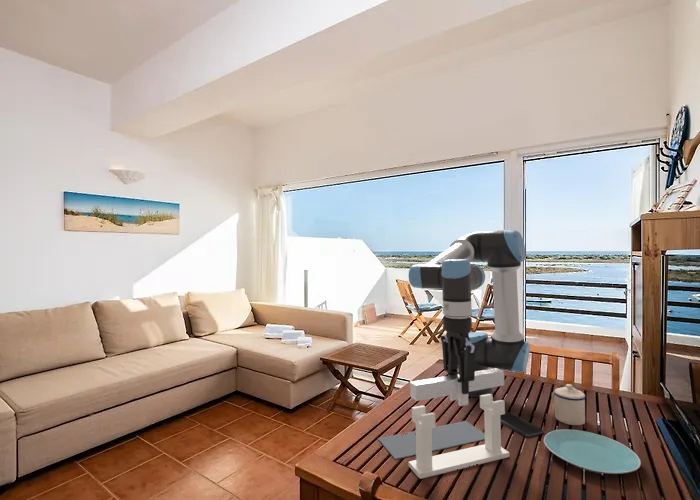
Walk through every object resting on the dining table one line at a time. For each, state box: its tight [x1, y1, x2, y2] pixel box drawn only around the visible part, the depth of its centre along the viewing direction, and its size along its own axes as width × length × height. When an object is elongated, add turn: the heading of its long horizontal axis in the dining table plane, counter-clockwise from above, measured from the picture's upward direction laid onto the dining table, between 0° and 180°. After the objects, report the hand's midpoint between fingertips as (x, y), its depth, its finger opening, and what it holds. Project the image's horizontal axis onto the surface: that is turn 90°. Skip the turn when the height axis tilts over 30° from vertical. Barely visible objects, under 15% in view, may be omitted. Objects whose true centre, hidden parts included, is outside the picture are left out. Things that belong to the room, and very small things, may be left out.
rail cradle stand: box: [408, 394, 510, 480], centre depth 101 cm, size 6×28×16 cm, turn 109°
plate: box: [543, 428, 642, 475], centre depth 102 cm, size 22×22×3 cm
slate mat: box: [377, 420, 485, 461], centre depth 113 cm, size 12×32×1 cm, turn 109°
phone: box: [500, 411, 545, 438], centre depth 121 cm, size 8×1×15 cm
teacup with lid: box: [551, 383, 587, 426], centre depth 125 cm, size 12×9×12 cm
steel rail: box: [409, 368, 505, 402], centre depth 101 cm, size 3×28×4 cm, turn 109°
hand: (459, 401), depth 101 cm, fingers closed on steel rail, 3 cm apart
